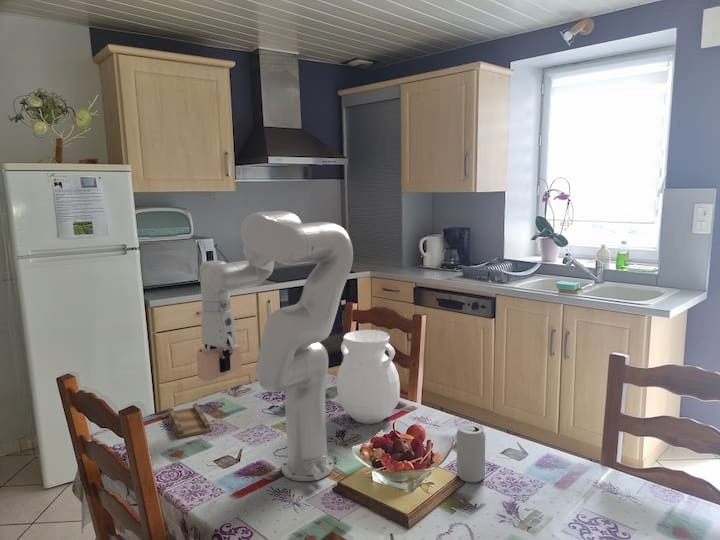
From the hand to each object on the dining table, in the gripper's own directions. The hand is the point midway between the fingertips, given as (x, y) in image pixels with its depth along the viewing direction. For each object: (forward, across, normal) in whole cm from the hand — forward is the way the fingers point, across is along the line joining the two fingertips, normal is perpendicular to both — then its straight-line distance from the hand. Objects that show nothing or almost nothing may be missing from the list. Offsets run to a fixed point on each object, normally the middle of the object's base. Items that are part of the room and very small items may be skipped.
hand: (219, 368), depth 150 cm
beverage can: (+17, -69, -17) cm, 73 cm away
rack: (+18, +11, +4) cm, 21 cm away
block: (+2, 0, 0) cm, 2 cm away
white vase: (+18, -30, -30) cm, 46 cm away
